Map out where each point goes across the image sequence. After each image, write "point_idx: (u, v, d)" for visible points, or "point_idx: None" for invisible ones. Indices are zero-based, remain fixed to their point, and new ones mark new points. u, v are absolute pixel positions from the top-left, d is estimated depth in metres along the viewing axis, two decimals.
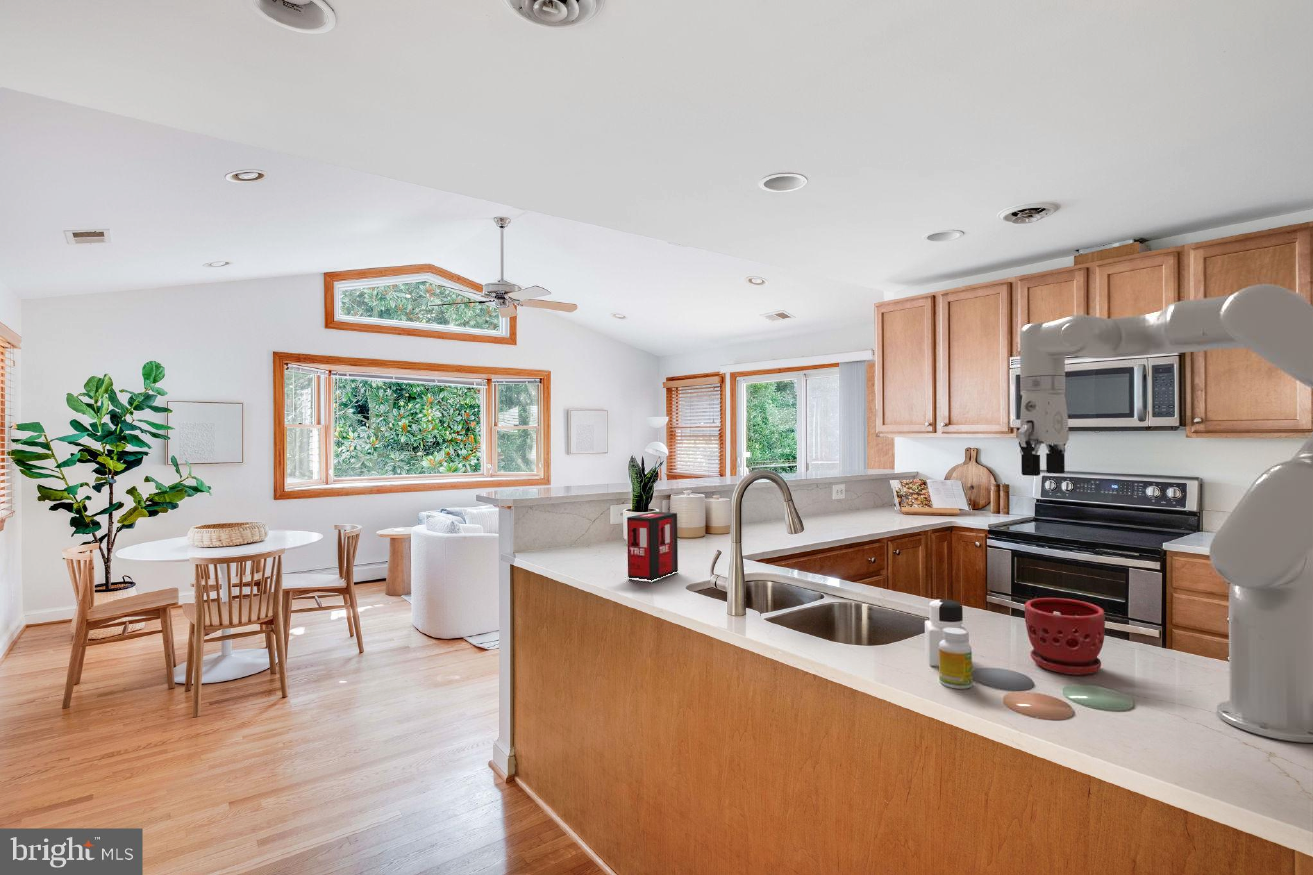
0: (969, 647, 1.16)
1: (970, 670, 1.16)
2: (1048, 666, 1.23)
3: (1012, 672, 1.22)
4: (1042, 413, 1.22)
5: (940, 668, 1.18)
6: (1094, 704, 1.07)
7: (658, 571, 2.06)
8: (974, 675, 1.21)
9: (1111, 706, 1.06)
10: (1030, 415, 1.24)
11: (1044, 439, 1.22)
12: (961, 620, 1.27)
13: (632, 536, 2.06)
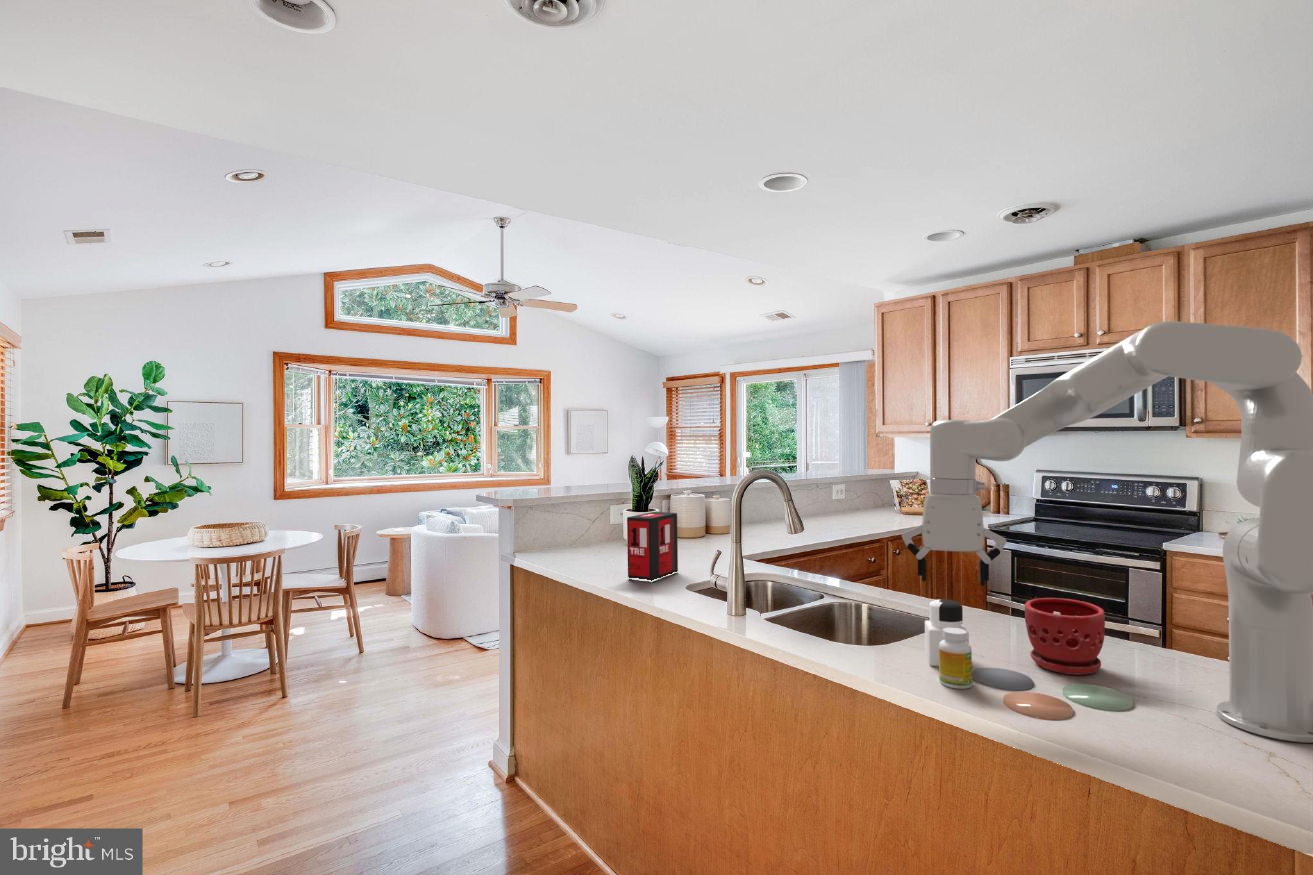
0: (969, 647, 1.16)
1: (970, 670, 1.16)
2: (1048, 666, 1.23)
3: (1012, 672, 1.22)
4: None
5: (940, 668, 1.18)
6: (1095, 704, 1.07)
7: (658, 571, 2.06)
8: (974, 675, 1.21)
9: (1112, 706, 1.06)
10: None
11: None
12: (961, 620, 1.27)
13: (632, 536, 2.06)
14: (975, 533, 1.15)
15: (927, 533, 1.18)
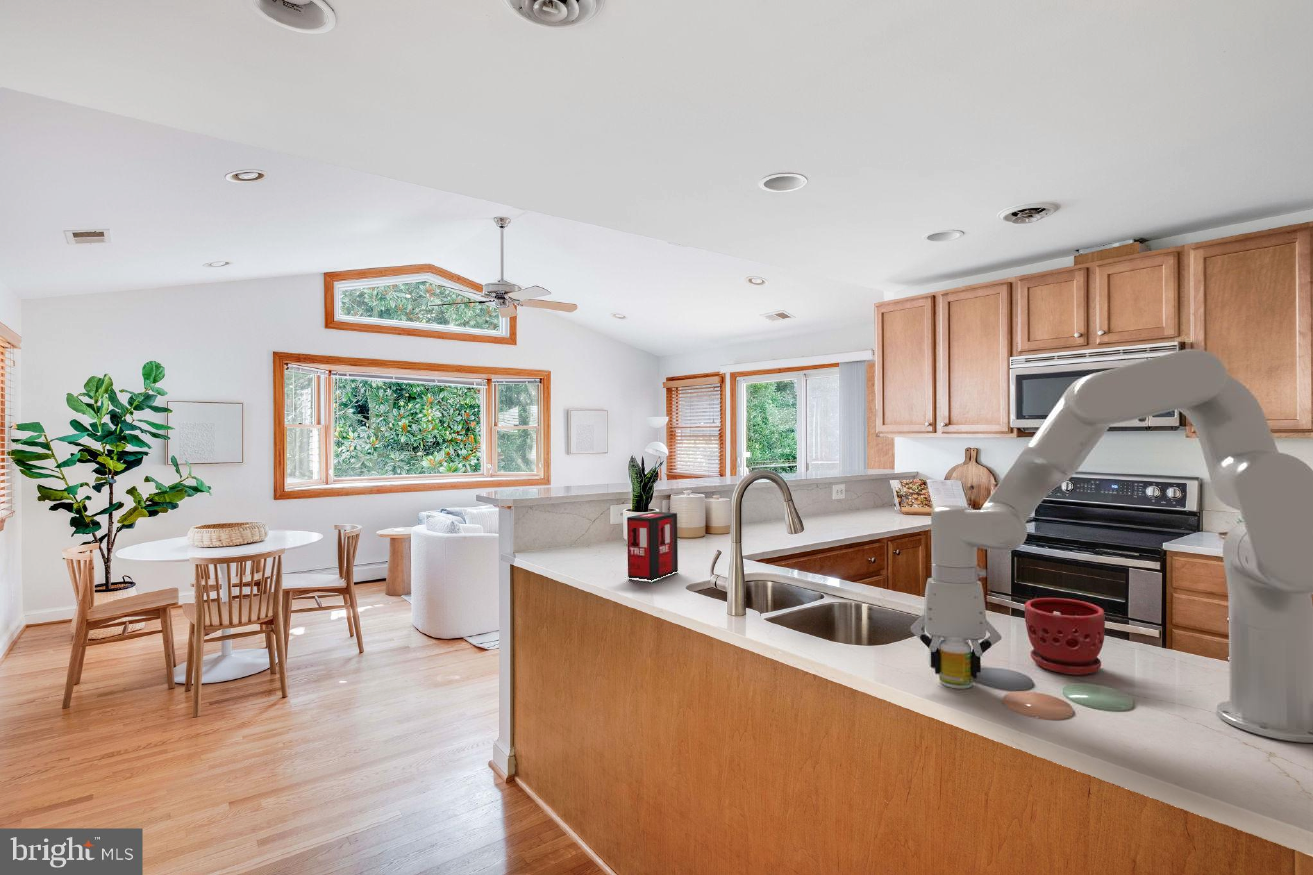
0: (969, 647, 1.16)
1: (970, 670, 1.16)
2: (1048, 666, 1.23)
3: (1012, 672, 1.22)
4: None
5: (940, 668, 1.18)
6: (1098, 705, 1.07)
7: (658, 571, 2.06)
8: None
9: (1114, 706, 1.06)
10: None
11: None
12: None
13: (632, 536, 2.06)
14: (977, 621, 1.15)
15: (929, 620, 1.18)
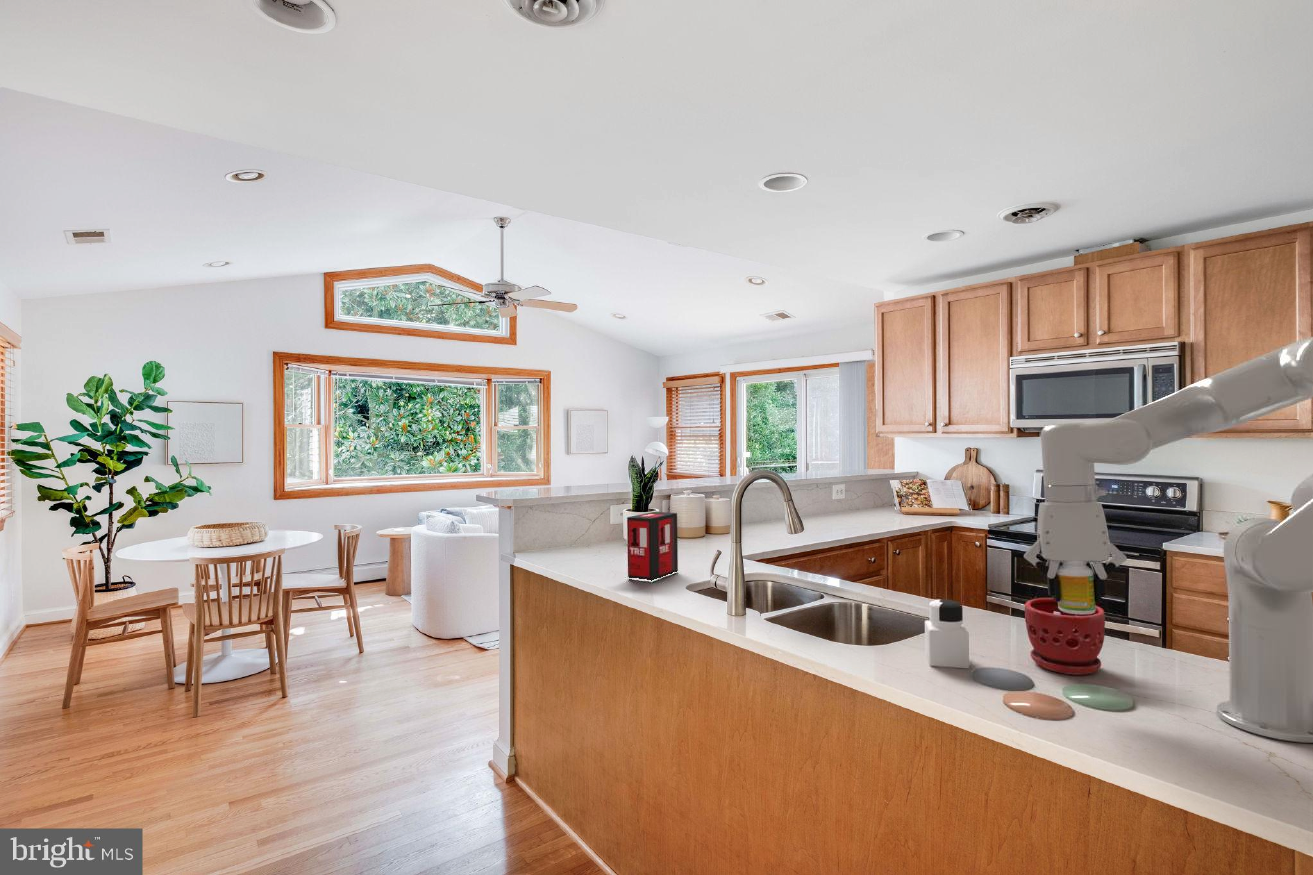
0: (1091, 570, 1.10)
1: (1093, 594, 1.10)
2: (1048, 666, 1.23)
3: (1011, 672, 1.22)
4: None
5: (1060, 595, 1.12)
6: (1104, 705, 1.07)
7: (658, 571, 2.06)
8: (974, 675, 1.21)
9: (1119, 705, 1.07)
10: None
11: None
12: (961, 620, 1.27)
13: (632, 536, 2.06)
14: (1100, 542, 1.08)
15: (1047, 544, 1.11)
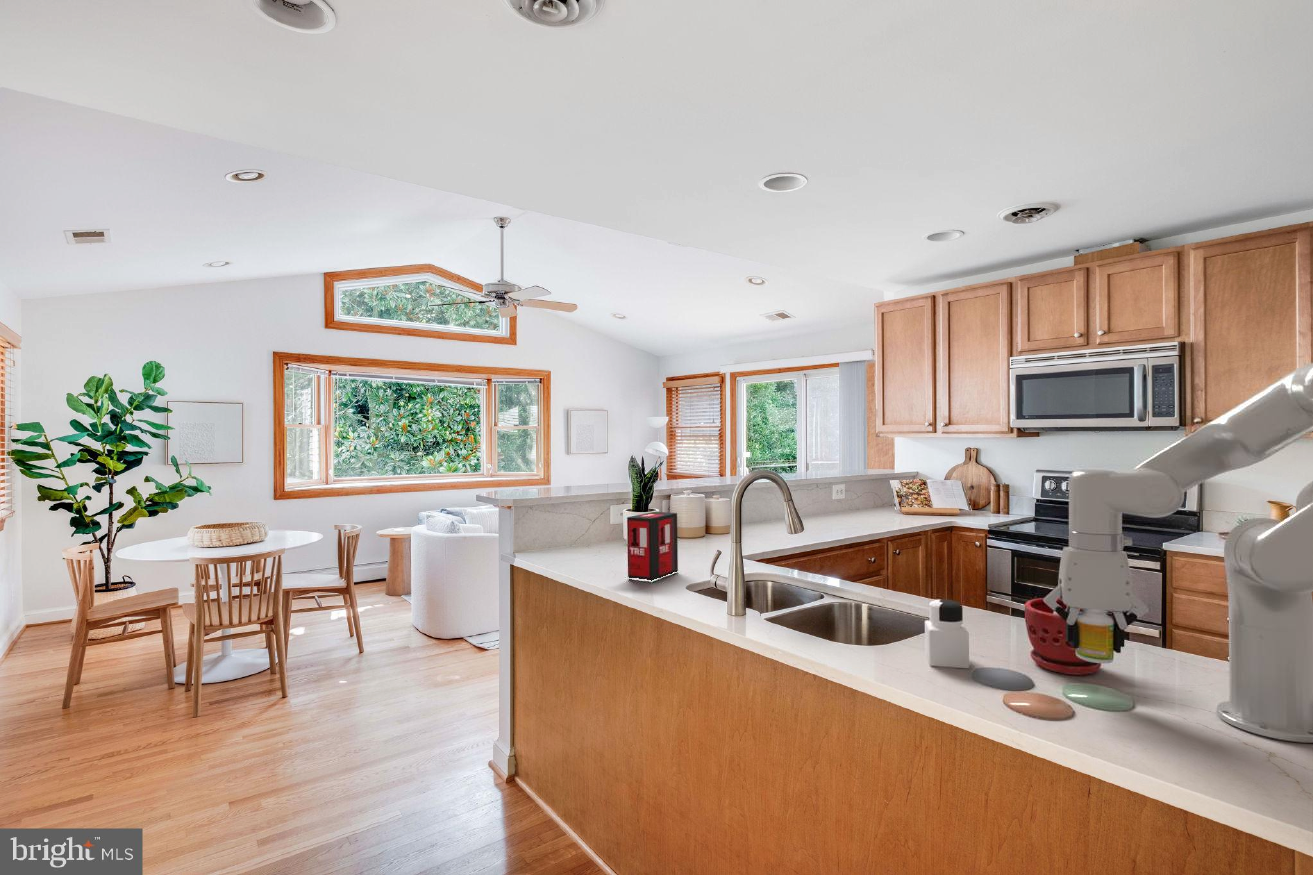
0: (1112, 619, 1.09)
1: (1113, 644, 1.09)
2: (1048, 666, 1.23)
3: (1011, 672, 1.22)
4: None
5: (1078, 642, 1.11)
6: (1109, 706, 1.06)
7: (658, 571, 2.06)
8: (974, 675, 1.21)
9: (1122, 705, 1.07)
10: None
11: None
12: (961, 620, 1.27)
13: (632, 536, 2.06)
14: (1123, 592, 1.08)
15: (1068, 591, 1.10)
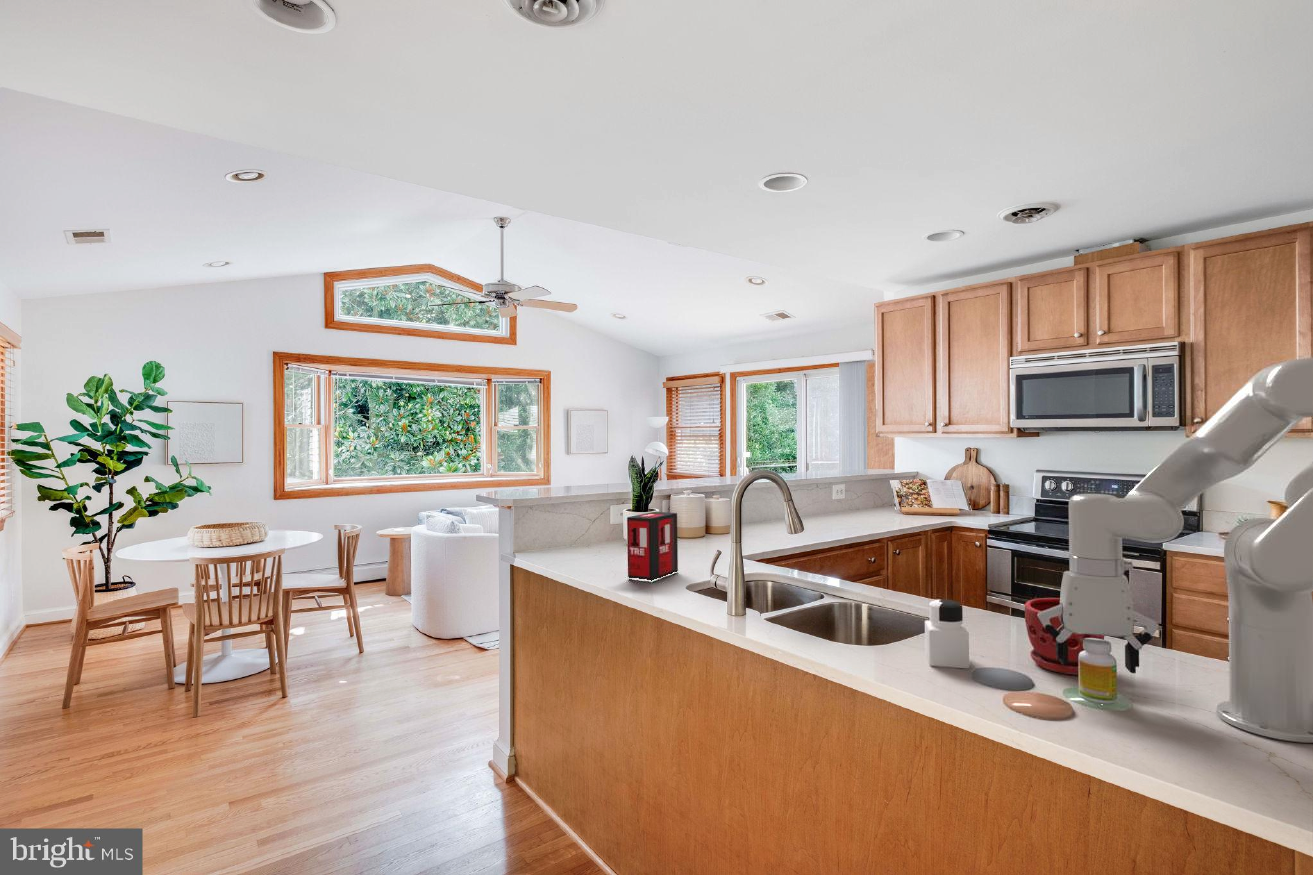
0: (1114, 659, 1.09)
1: (1116, 684, 1.09)
2: (1048, 666, 1.23)
3: (1011, 672, 1.22)
4: None
5: (1081, 681, 1.11)
6: (1111, 709, 1.06)
7: (658, 571, 2.06)
8: (974, 676, 1.21)
9: (1123, 708, 1.07)
10: None
11: None
12: (961, 620, 1.27)
13: (632, 536, 2.06)
14: (1125, 617, 1.07)
15: (1069, 615, 1.10)
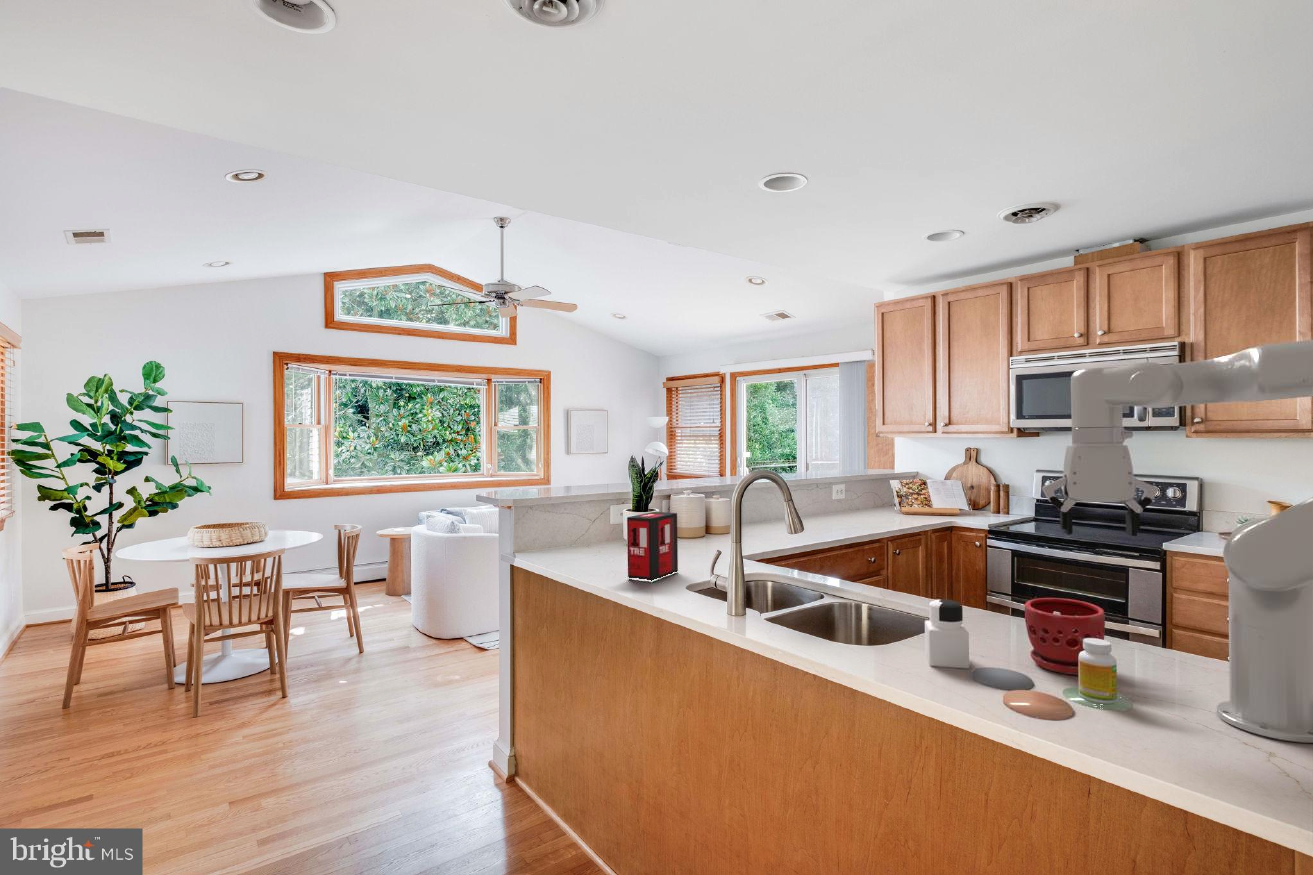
0: (1114, 659, 1.09)
1: (1116, 684, 1.09)
2: (1048, 666, 1.23)
3: (1010, 672, 1.22)
4: None
5: (1081, 681, 1.11)
6: (1111, 709, 1.06)
7: (658, 571, 2.06)
8: (975, 676, 1.21)
9: (1123, 708, 1.07)
10: None
11: None
12: (961, 620, 1.27)
13: (632, 536, 2.06)
14: (1126, 482, 1.12)
15: (1073, 484, 1.15)
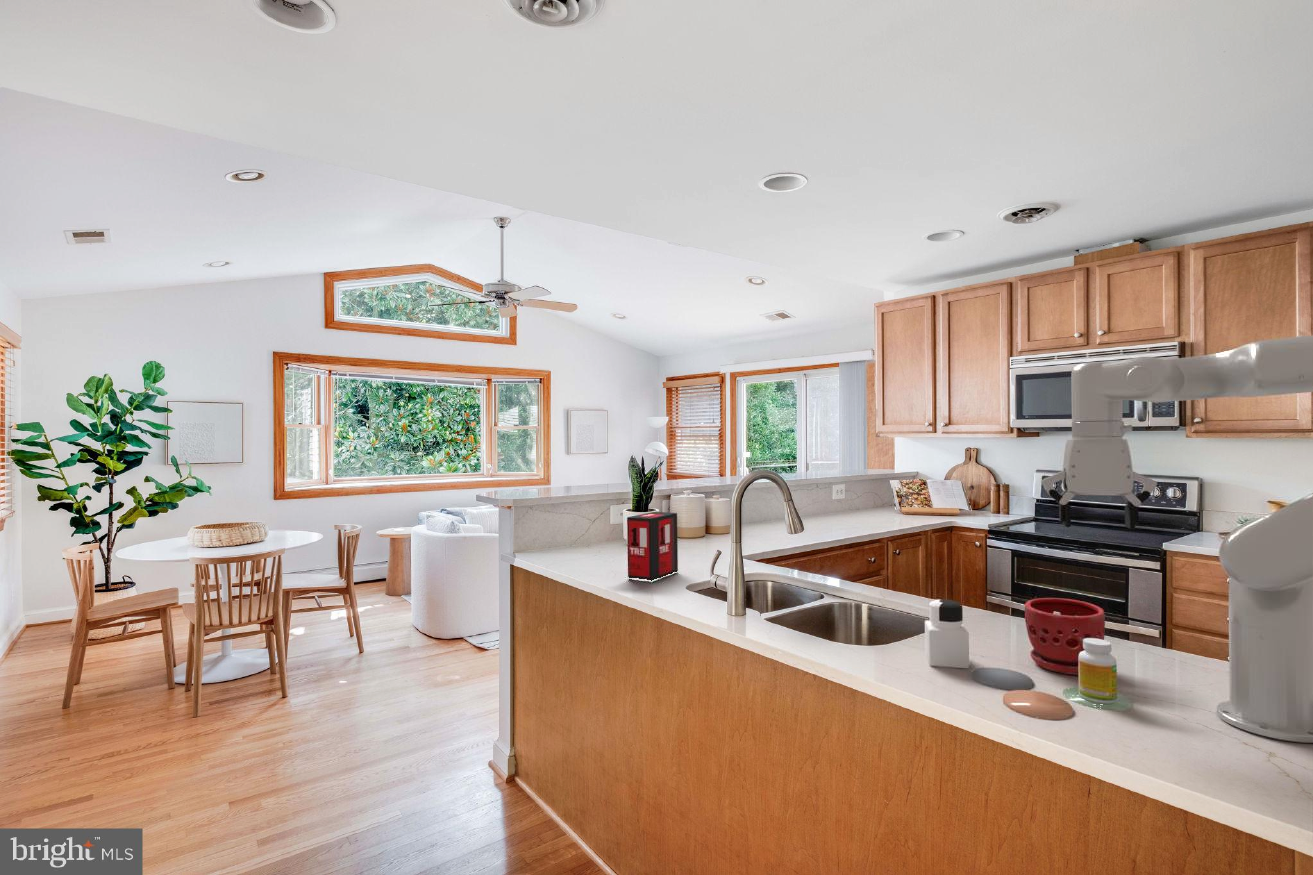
0: (1114, 659, 1.09)
1: (1116, 684, 1.09)
2: (1048, 666, 1.23)
3: (1010, 672, 1.22)
4: None
5: (1081, 681, 1.11)
6: (1111, 709, 1.06)
7: (658, 571, 2.06)
8: (975, 676, 1.20)
9: (1123, 708, 1.07)
10: None
11: None
12: (961, 620, 1.27)
13: (632, 536, 2.06)
14: (1124, 475, 1.13)
15: (1072, 477, 1.16)
